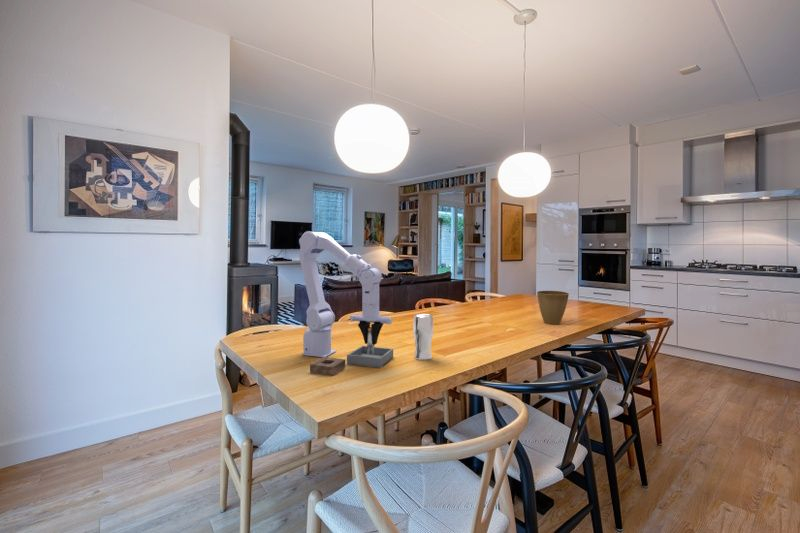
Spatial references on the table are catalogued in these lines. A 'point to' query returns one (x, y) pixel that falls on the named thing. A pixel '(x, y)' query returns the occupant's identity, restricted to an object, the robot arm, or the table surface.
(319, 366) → the block
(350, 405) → the table surface
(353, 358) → the tray
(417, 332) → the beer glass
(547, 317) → the plant pot
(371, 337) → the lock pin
